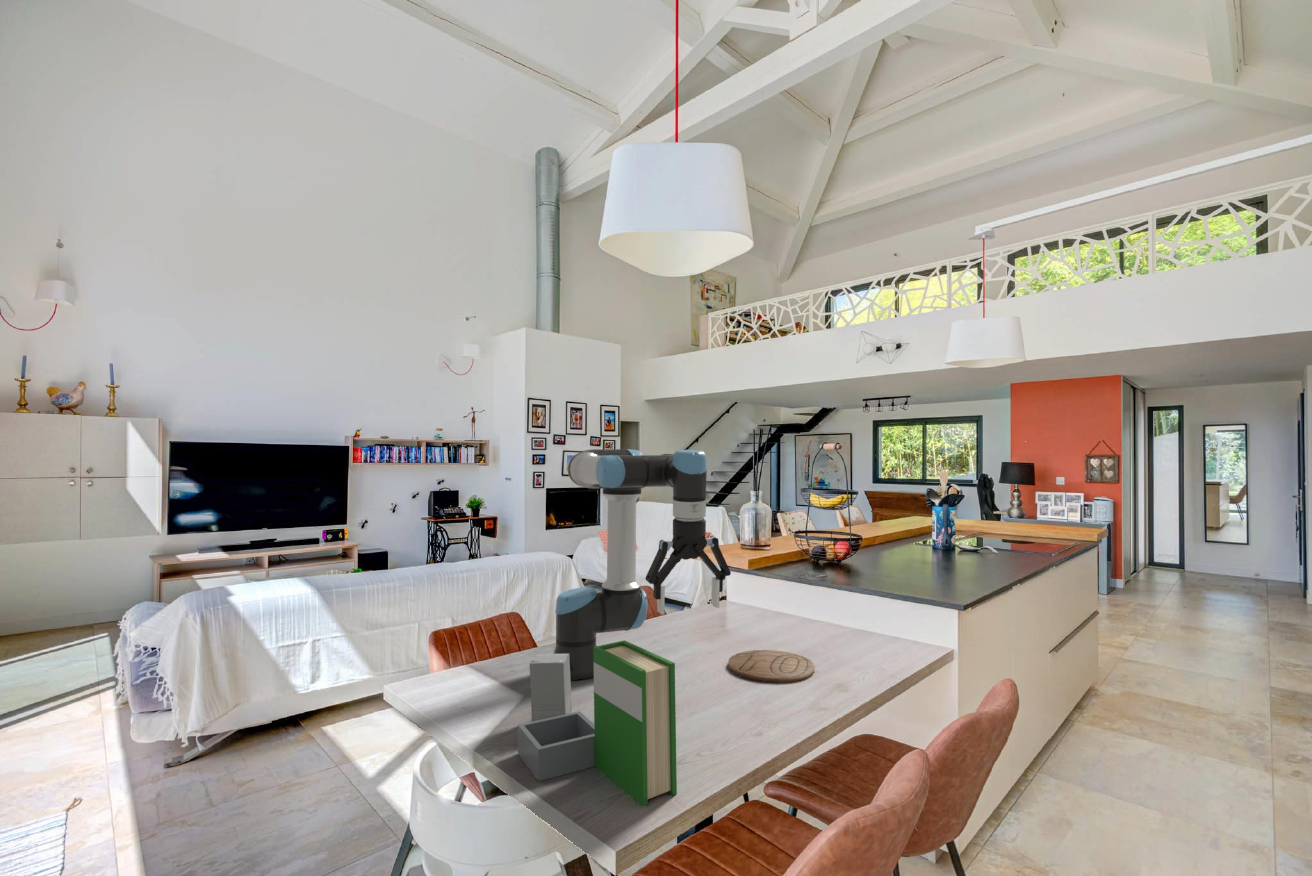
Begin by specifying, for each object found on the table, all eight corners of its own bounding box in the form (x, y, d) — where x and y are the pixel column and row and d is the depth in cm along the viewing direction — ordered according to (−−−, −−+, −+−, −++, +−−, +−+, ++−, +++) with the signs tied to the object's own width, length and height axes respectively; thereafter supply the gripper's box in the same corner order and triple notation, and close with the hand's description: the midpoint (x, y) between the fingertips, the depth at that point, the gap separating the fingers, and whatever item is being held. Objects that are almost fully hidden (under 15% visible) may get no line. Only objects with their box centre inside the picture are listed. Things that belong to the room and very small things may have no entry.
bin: (517, 753, 132) (517, 724, 132) (579, 738, 139) (579, 711, 139) (538, 781, 120) (538, 749, 120) (604, 763, 127) (604, 733, 127)
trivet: (720, 679, 176) (720, 672, 176) (736, 653, 200) (736, 647, 200) (811, 689, 169) (811, 681, 169) (816, 660, 193) (816, 654, 193)
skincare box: (572, 719, 149) (572, 652, 149) (565, 732, 142) (565, 661, 142) (537, 718, 150) (537, 651, 150) (528, 731, 143) (528, 660, 143)
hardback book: (676, 793, 116) (674, 663, 116) (643, 807, 111) (641, 671, 112) (626, 756, 130) (624, 640, 131) (594, 767, 126) (593, 647, 126)
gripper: (642, 524, 135) (642, 621, 136) (745, 517, 143) (744, 608, 145) (632, 518, 142) (631, 609, 143) (731, 511, 150) (729, 598, 152)
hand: (688, 609), depth 144 cm, fingers open, 13 cm apart
